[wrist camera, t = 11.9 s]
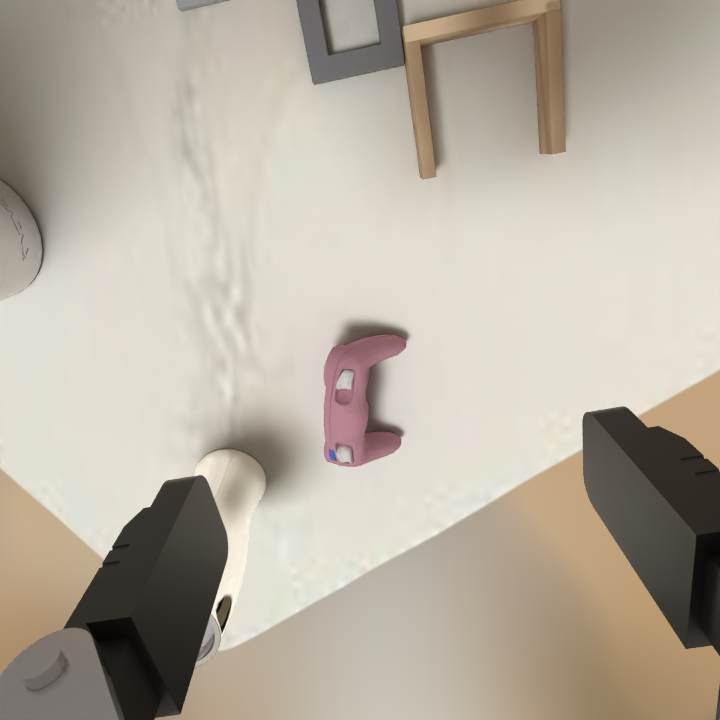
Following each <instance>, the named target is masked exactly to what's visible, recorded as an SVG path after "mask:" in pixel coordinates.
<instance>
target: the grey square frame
mask: <svg viewBox="0 0 720 720" xmlns="http://www.w3.org/2000/svg"><path fill="white" fill-rule="evenodd" d="M296 1H297V6H298V11H299V16H300V21H301V26H302V31H303V36H304V42H305V47H306V52H307V57H308V62H309V67H310V72H311V77H312V82H313V84H314V85H316V84H321V83H325V82H330V81H335V80H339V79H344V78H348V77H353V76H358V75H362V74H367V73H371V72H376V71H381V70H385V69H390V68H394V67H399V66H404V63H405V62H404V55H403V48H402V40H401V33H400V25H399V18H398V11H397V3H396V0H374V4H375V11H376V18H377V24H378V31H379V38H380V44H379V45H374V46H370V47H365V48H361V49H356V50H352V51H347V52H343V53H338V54H334V55H329V53H328V48H327V42H326V37H325V31H324V26H323V20H322V15H321V10H320V4H319V0H296Z"/></svg>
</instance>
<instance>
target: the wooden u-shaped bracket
mask: <svg viewBox="0 0 720 720" xmlns="http://www.w3.org/2000/svg"><path fill="white" fill-rule="evenodd" d="M530 22H533V27H534V47H535V67H536V87H537V106H538V126H539V146H540V154H556V153H561V152H566V145H565V115H564V84H563V54H562V23H561V0H518V1H514V2H509V3H505V4H500V5H496V6H491V7H487V8H483V9H478V10H474V11H469V12H465V13H460V14H456V15H451V16H447V17H443V18H438V19H434V20H429V21H425V22H420V23H416V24H411V25H407V26H403V29H402V34H401V38H402V46H403V53H404V61H405V68H406V75H407V83H408V90H409V98H410V105H411V112H412V120H413V127H414V135H415V142H416V150H417V157H418V164H419V172H420V177H421V178H422V179H428V178H433V177H436V170H435V162H434V153H433V145H432V137H431V129H430V121H429V113H428V105H427V97H426V89H425V81H424V73H423V64H422V56H421V48H420V47H421V46H425V45H430V44H434V43H439V42H444V41H448V40H453V39H457V38H462V37H466V36H471V35H475V34H480V33H484V32H489V31H494V30H498V29H503V28H507V27H512V26H516V25H521V24H525V23H530Z"/></svg>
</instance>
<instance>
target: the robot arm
mask: <svg viewBox="0 0 720 720" xmlns="http://www.w3.org/2000/svg"><path fill="white" fill-rule="evenodd" d="M41 258H42V244H41V236H40V233H39V230H38V227H37V223H36V221H35V220H34V218H33V216H32V214H31V212H30V210H29V208H28V207H27V206H26V204H25V203H24V202H23V201H22V199H21V198H20V197H19V196H18V195H17V194H16V193H15V192H14V191H13V190H12V189H11V188H10V187H9V186H8V185H7V184H5V183H4V182H2V181H1V180H0V301H1V300H3V299H5V298H8V297H10V296H12V295H15V294H17V293H19V292H21V291H23V290H24V289H25V288H26V287H27V286H29V285H30V284H31V282H32V281H33V280H34V278H35V277H36V275H37V273H38V270H39V267H40V265H41ZM583 475H584V483H585V487H586V491H587V494H588V497H589V499H590V502H591V503H592V505H593V507H594V508H595V510H596V512H597V513H598V515H599V516H600V518H601V519H602V521H603V522H604V524H605V526H606V527H607V528H608V530H609V532H610V533H611V535H612V536H613V538H614V539H615V541H616V542H617V544H618V545H619V547H620V549H621V550H622V552H623V553H624V555H625V556H626V558H627V559H628V561H629V562H630V564H631V565H632V567H633V568H634V570H635V572H636V573H637V574H638V576H639V578H640V579H641V580H642V582H643V584H644V585H645V587H646V588H647V590H648V591H649V593H650V595H651V596H652V597H653V599H654V601H655V602H656V604H657V605H658V607H659V608H660V610H661V611H662V612H663V615H664V616H665V618H666V619H667V621H668V622H669V623H670V625H671V627H672V628H673V630H674V631H675V633H676V634H677V636H678V637H679V639H680V641H681V642H682V644H683V645H684V647H685V648H686V649H689V648H696V647H704V646H711V645H712V646H713V647H714V648H715V650H716V651H717V653H718V654H719V655H720V472H719V469H718V468H717V467H716V466H715V465H714V464H712V463H711V462H710V461H709V460H708V459H704V457H703V455H702V454H701V453H700V452H699V451H698V450H697V449H696V448H695V447H694V446H693V445H691V444H690V443H689V442H688V441H687V440H686V439H685V438H683V437H680V436H678V435H676V434H674V433H672V432H670V431H668V430H666V429H663V428H661V427H659V426H656V427H650V428H648V427H646V426H645V425H644V424H643V423H642V422H641V421H640V420H639V419H638V418H637V417H636V416H635V415H634V414H633V413H632V412H631V411H630V410H629V409H628V408H626V407H616V408H610V409H604V410H598V411H592V412H587V413H585V414H584V416H583ZM112 547H113V550H111V551H109V553H108V555H107V556H106V558H105V560H104V561H103V567H102V568H99V570H98V572H97V573H96V575H95V577H94V578H93V580H92V582H91V583H90V585H89V587H88V588H87V590H86V592H85V593H84V595H83V597H82V598H81V600H80V602H79V603H78V605H77V607H76V609H75V610H74V612H73V614H72V615H71V617H70V618H69V620H68V622H67V623H66V625H65V627H64V628H63V629H62V630H59V631H56V632H53V633H51V634H48V635H46V636H44V637H43V638H41V639H39V640H37V641H36V642H34V643H33V644H31V645H30V646H29V647H27V648H26V649H25V650H23V651H22V652H21V653H20V654H19V655H18V656H17V657H16V658H15V659H14V660H13V661H12V662H11V663H10V664H9V665H8V666H7V668H6V669H5V670H4V671H3V673H2V674H1V676H0V720H154V719H155V718H157V717H165V716H172V715H179V714H181V710H182V707H183V703H184V701H185V697H186V694H187V691H188V687H189V684H190V680H191V677H192V674H193V671H194V668H195V664H196V661H197V658H198V655H199V651H200V648H201V645H202V641H203V638H204V635H205V632H206V628H207V625H208V622H209V618H210V615H211V612H212V608H213V605H214V602H215V599H216V595H217V592H218V589H219V585H220V582H221V579H222V576H223V572H224V569H225V566H226V562H227V558H228V538H227V533H226V529H225V526H224V524H223V521H222V518H221V516H220V513H219V510H218V507H217V505H216V502H215V499H214V497H213V494H212V491H211V488H210V486H209V483H208V481H207V479H206V478H205V477H204V476H202V475H198V476H192V477H186V478H179V479H173V480H168V481H166V482H165V483H164V484H163V485H162V487H161V489H160V491H159V493H158V494H157V496H156V498H155V500H154V502H153V503H152V505H151V507H148V508H143V509H142V510H141V511H140V512H139V513H138V514H137V515H136V516H135V517H134V518H133V519H132V520H131V521H130V522H129V523H128V524H127V525H126V526H124V528H123V530H122V531H121V533H120V535H119V536H118V538H117V540H116V541H115V543H114V545H113V546H112ZM716 720H720V686H719V695H718V703H717V711H716Z"/></svg>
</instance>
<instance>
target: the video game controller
mask: <svg viewBox="0 0 720 720" xmlns="http://www.w3.org/2000/svg"><path fill="white" fill-rule="evenodd" d="M405 348H406V341H405V340H404V339H403V338H401V337H399V336H397V335H377V336H371V337H366V338H363V339H360V340H357V341H355V342H352V343H349V344H347V345H341V344H339V345H337V346H335V347H334V348H333V349H332V350H331V352H330V353H329V355H328V358H327V360H326V362H325V365H324V382H325V385H326V393H325V402H324V432H325V445H324V455H325V458H326V460H327V461H328V462H330V463H334V464H337V465H340V466H347V467H356V466H360V465H363V464H365V463H368V462H370V461H373V460H376V459H378V458H381V457H384V456H387V455H389V454H392V453H394V452H395V451H396V450H397V449H398V448H399V447H400V445H401V438H400V437H399V436H398V435H396V434H394V433H390V432H383V431H378V432H369V433H365V430H366V428H367V423H368V414H369V405H368V402H367V401H366V386H367V384H368V381H369V375H370V367H371V366H373V365H374V364H376V363H378V362H380V361H382V360H385V359H387V358H390V357H393V356H395V355H398V354H399V353H400V352H402V351H403V350H404V349H405Z"/></svg>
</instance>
